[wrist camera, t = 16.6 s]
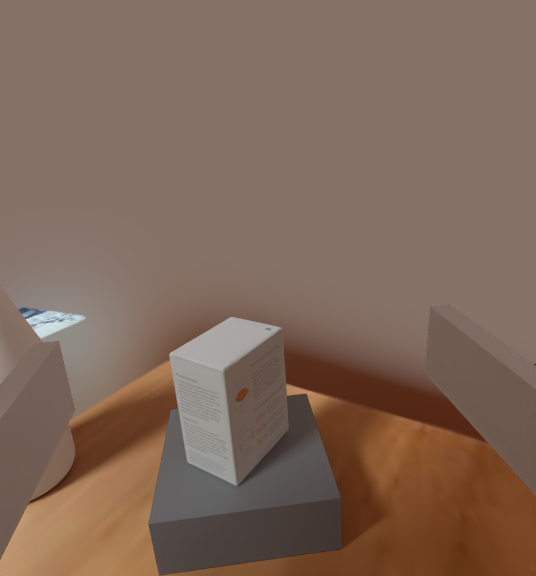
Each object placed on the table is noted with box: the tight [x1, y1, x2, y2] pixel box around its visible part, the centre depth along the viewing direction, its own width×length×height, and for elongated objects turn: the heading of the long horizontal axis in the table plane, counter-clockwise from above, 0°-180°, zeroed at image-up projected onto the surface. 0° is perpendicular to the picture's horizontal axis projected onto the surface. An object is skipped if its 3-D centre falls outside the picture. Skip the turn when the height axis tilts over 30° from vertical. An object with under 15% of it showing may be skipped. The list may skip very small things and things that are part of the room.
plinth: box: [149, 394, 342, 575], centre depth 38 cm, size 14×14×5 cm
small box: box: [169, 317, 289, 486], centre depth 36 cm, size 8×6×10 cm
